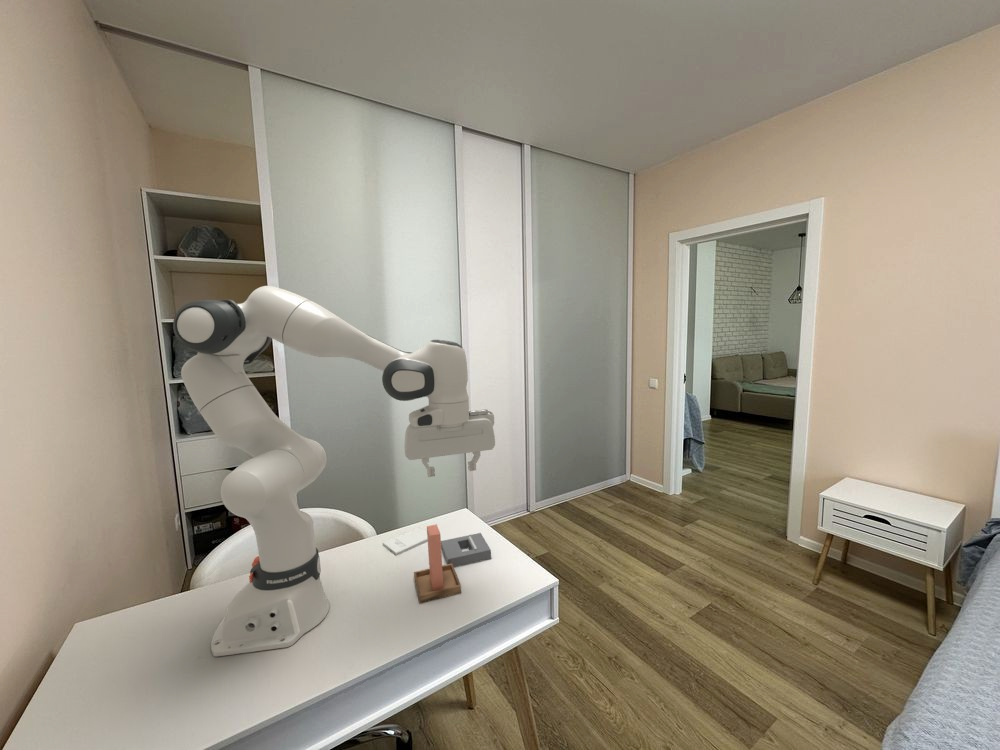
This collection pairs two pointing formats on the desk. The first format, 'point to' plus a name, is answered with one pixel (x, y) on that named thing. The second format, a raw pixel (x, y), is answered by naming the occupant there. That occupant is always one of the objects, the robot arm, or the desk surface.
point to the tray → (427, 593)
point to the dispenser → (474, 554)
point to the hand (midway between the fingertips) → (452, 472)
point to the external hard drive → (406, 541)
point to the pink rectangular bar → (435, 557)
